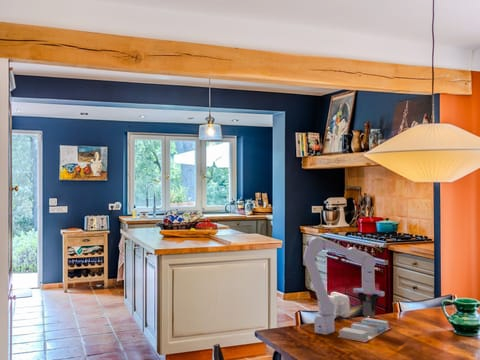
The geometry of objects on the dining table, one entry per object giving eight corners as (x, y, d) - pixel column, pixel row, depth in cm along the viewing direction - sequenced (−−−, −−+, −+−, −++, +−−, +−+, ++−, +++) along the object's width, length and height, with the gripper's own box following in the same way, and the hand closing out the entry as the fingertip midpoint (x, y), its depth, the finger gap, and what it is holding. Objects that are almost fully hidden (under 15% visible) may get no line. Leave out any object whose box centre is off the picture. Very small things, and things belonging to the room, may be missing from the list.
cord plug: (371, 316, 218) (370, 298, 219) (362, 315, 221) (362, 297, 221) (374, 314, 221) (374, 297, 222) (366, 313, 224) (366, 295, 224)
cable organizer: (317, 314, 255) (317, 292, 255) (334, 312, 259) (333, 290, 260) (333, 321, 241) (332, 297, 242) (351, 318, 245) (350, 295, 246)
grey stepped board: (365, 344, 203) (364, 334, 203) (337, 338, 212) (337, 328, 212) (390, 330, 223) (390, 321, 223) (364, 325, 232) (364, 316, 232)
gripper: (386, 280, 220) (387, 310, 220) (357, 277, 230) (358, 306, 229) (380, 283, 215) (381, 313, 215) (350, 279, 224) (351, 309, 224)
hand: (369, 310), depth 222 cm, fingers closed on cord plug, 4 cm apart
